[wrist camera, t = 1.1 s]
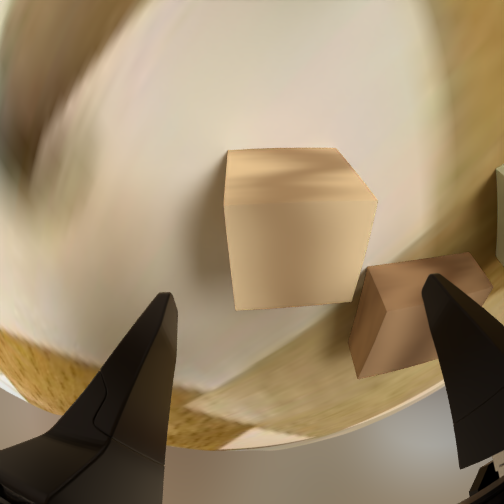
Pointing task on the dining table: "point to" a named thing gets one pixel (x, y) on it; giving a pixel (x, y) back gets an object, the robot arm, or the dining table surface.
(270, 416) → the dining table surface
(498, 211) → the block
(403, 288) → the base block
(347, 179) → the oak cube
